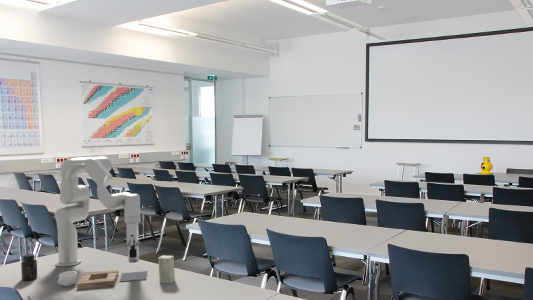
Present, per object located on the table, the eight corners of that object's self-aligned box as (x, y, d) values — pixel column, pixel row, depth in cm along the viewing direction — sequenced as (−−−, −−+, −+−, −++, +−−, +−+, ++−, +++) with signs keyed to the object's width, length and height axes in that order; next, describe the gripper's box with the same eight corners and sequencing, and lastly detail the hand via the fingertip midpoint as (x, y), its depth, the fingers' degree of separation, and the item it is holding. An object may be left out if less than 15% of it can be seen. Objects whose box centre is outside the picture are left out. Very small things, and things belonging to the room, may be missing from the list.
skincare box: (175, 280, 205) (174, 255, 204) (170, 283, 201) (170, 258, 200) (163, 279, 207) (162, 254, 206) (158, 282, 202) (158, 257, 202)
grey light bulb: (128, 259, 213) (127, 241, 212) (140, 258, 214) (140, 240, 213) (126, 263, 207) (126, 244, 206) (139, 262, 208) (139, 243, 208)
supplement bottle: (19, 279, 209) (18, 255, 209) (34, 275, 214) (33, 252, 214) (24, 282, 205) (23, 257, 204) (39, 278, 210) (38, 254, 209)
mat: (122, 273, 215) (122, 273, 215) (147, 271, 218) (147, 271, 218) (119, 282, 204) (119, 281, 204) (145, 279, 206) (145, 279, 206)
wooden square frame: (84, 277, 210) (83, 272, 210) (118, 274, 214) (118, 269, 214) (77, 289, 195) (77, 283, 195) (114, 286, 198) (113, 280, 198)
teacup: (67, 281, 206) (67, 270, 206) (80, 282, 203) (80, 271, 203) (51, 288, 196) (51, 277, 196) (64, 290, 194) (64, 278, 194)
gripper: (126, 216, 217) (127, 251, 218) (122, 223, 200) (123, 261, 201) (141, 215, 219) (142, 250, 219) (139, 222, 202) (140, 260, 203)
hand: (133, 255), depth 210 cm, fingers closed on grey light bulb, 5 cm apart
